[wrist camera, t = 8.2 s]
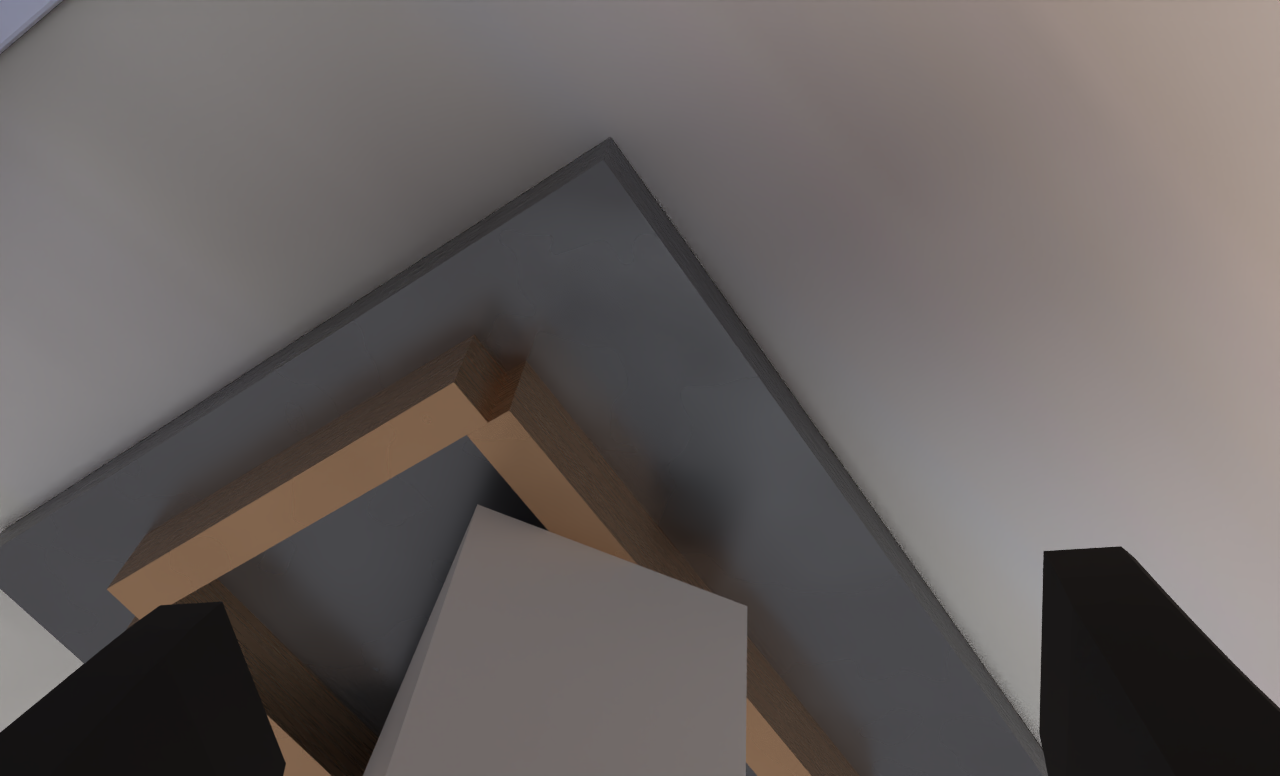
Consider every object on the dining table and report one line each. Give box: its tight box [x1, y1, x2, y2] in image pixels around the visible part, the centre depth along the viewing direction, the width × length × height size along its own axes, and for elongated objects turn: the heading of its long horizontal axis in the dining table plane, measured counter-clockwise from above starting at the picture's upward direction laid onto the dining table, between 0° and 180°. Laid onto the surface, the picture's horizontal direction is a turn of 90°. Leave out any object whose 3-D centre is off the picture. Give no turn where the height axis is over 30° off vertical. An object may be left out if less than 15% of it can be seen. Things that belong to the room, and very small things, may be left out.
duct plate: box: [0, 137, 1048, 776], centre depth 22 cm, size 15×14×2 cm
